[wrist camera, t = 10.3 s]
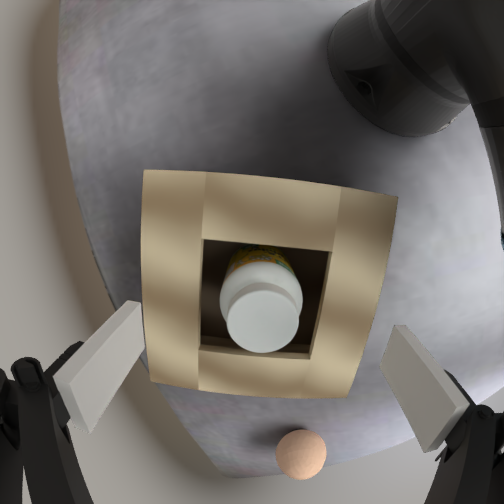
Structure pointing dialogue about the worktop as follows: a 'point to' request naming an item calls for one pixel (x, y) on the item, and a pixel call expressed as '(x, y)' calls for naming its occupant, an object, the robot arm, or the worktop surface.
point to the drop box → (300, 258)
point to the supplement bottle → (261, 298)
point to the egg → (301, 454)
